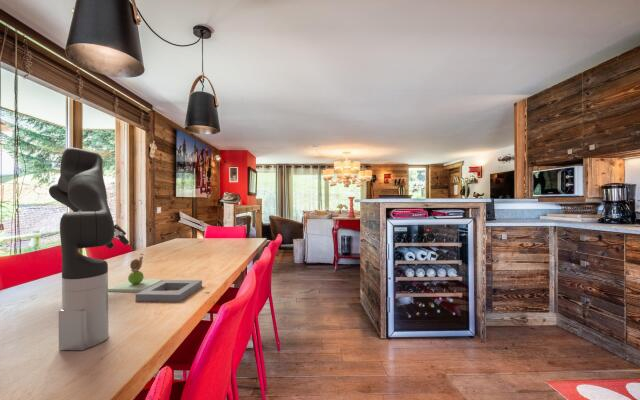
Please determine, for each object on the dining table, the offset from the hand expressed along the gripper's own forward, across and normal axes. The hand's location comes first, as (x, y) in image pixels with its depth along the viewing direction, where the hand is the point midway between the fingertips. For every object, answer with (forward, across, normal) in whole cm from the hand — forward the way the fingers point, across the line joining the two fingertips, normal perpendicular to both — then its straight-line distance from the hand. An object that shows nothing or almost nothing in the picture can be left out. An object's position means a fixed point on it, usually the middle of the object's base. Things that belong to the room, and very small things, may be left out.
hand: (120, 245), depth 123 cm
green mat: (+17, 0, +7) cm, 18 cm away
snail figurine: (+16, 0, +6) cm, 18 cm away
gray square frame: (+30, -8, -7) cm, 32 cm away
